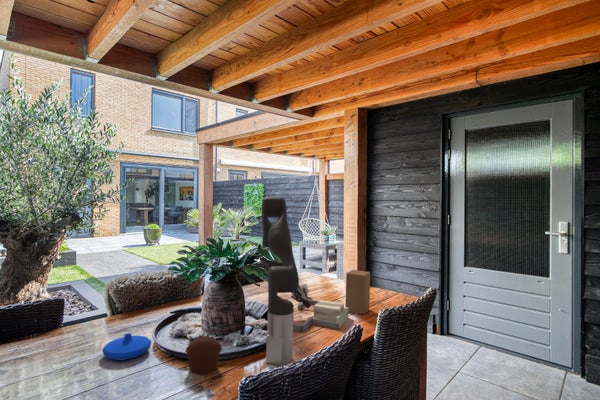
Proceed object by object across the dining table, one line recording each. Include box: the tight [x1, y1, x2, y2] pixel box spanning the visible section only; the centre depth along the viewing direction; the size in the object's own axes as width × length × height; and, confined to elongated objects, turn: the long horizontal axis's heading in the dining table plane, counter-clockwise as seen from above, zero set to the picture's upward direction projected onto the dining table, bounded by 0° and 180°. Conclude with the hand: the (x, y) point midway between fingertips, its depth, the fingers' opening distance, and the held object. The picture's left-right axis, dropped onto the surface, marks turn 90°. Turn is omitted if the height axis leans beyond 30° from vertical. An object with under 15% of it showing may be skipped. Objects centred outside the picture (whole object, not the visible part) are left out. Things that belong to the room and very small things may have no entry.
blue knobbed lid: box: [102, 333, 152, 361], centre depth 120 cm, size 16×16×7 cm
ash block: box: [313, 299, 345, 322], centre depth 159 cm, size 10×12×8 cm
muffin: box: [185, 335, 223, 376], centre depth 112 cm, size 12×11×10 cm
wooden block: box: [344, 269, 371, 315], centre depth 173 cm, size 10×10×20 cm
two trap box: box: [293, 298, 349, 333], centre depth 161 cm, size 36×26×5 cm
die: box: [299, 282, 310, 296], centre depth 194 cm, size 8×9×10 cm
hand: (309, 307), depth 162 cm, fingers closed
